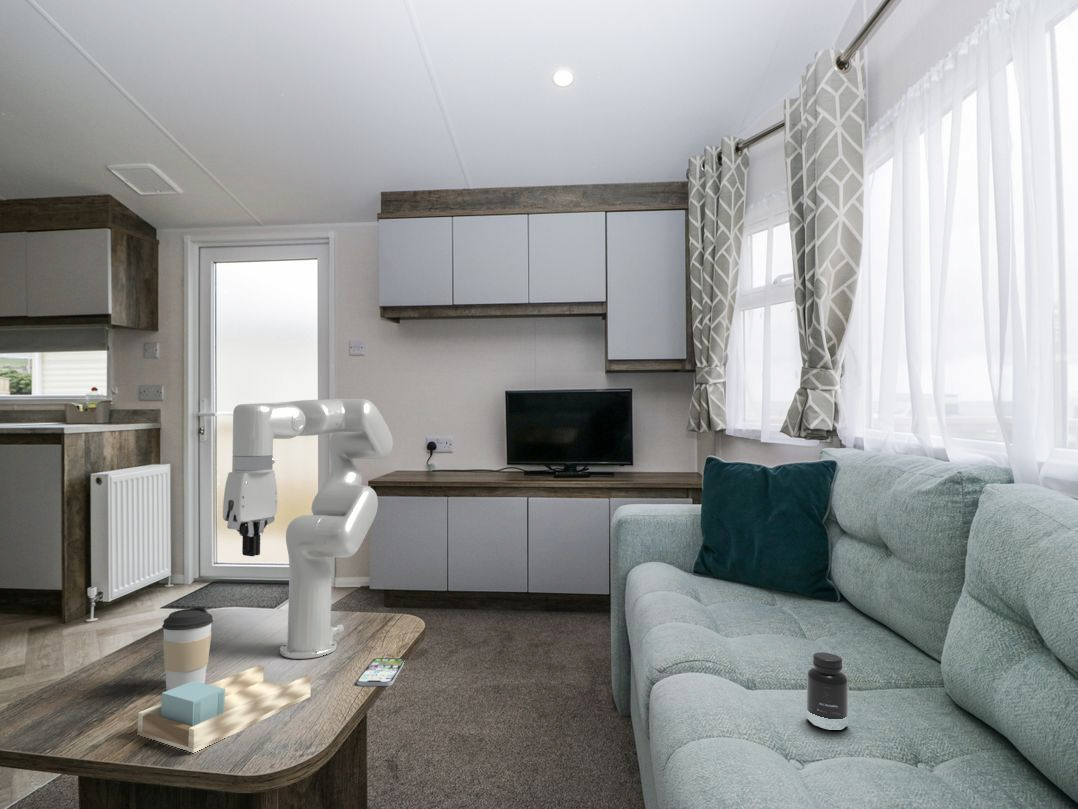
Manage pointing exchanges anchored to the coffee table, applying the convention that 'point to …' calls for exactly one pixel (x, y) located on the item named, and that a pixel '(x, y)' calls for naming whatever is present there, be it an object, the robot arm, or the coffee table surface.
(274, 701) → the bay
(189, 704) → the light blue block
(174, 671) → the coffee cup
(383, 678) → the smartphone
